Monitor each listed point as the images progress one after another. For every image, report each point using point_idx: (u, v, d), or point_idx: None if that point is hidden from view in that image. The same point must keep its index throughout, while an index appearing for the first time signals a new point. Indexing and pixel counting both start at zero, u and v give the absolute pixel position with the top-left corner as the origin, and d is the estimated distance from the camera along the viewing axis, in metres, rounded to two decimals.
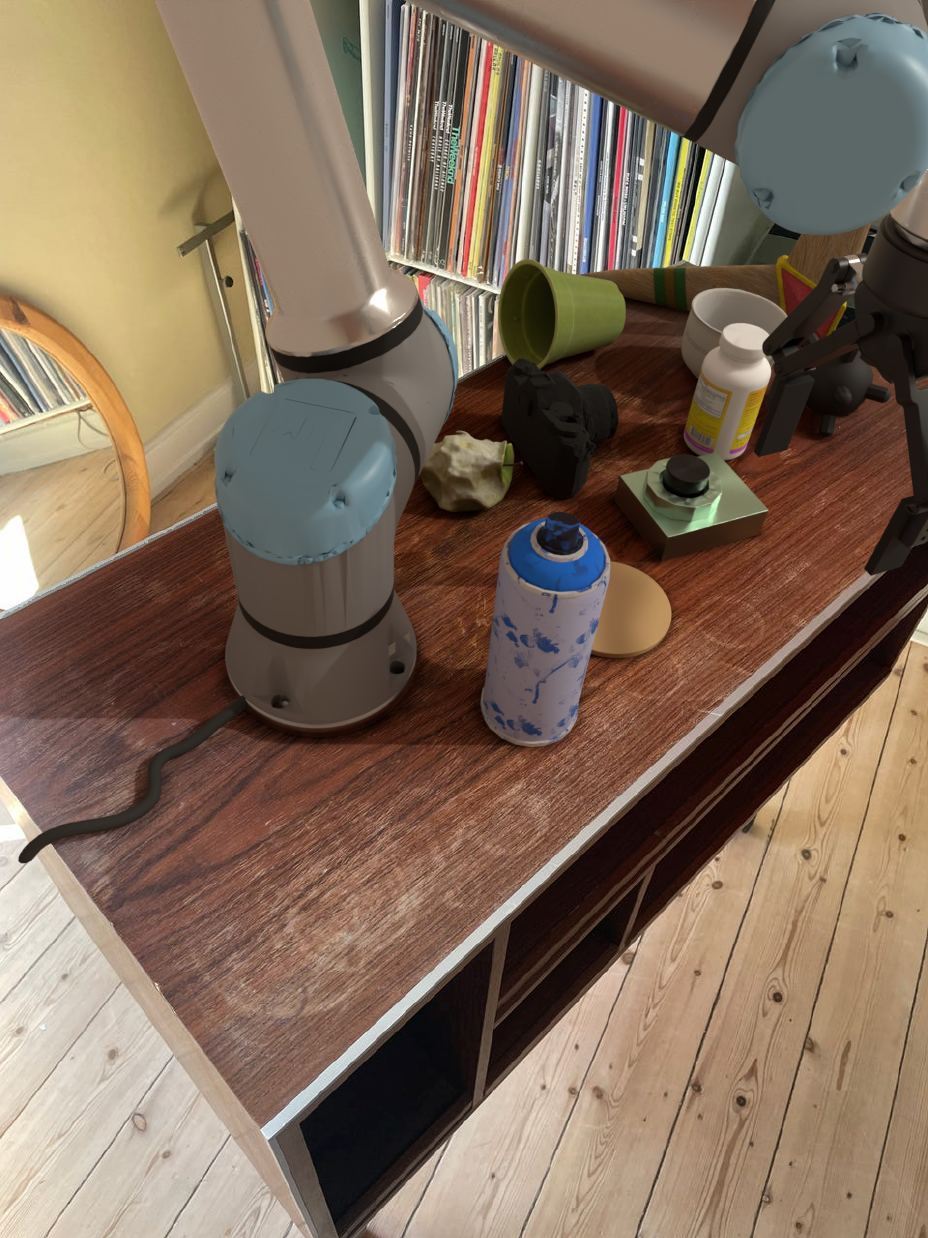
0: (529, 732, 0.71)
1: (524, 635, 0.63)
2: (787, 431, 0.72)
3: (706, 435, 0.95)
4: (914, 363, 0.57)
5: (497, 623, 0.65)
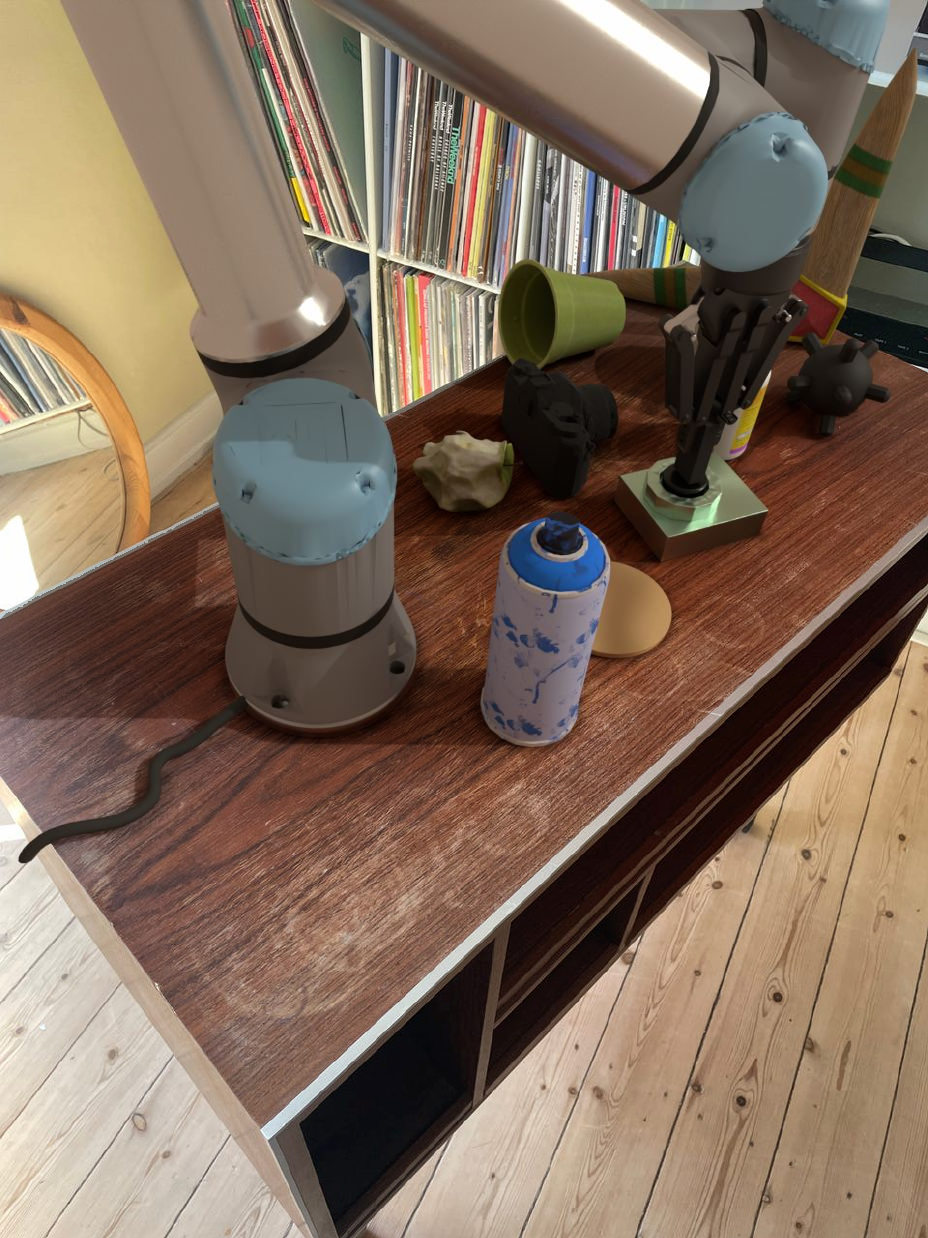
0: (529, 732, 0.71)
1: (524, 635, 0.63)
2: None
3: None
4: None
5: (497, 623, 0.65)
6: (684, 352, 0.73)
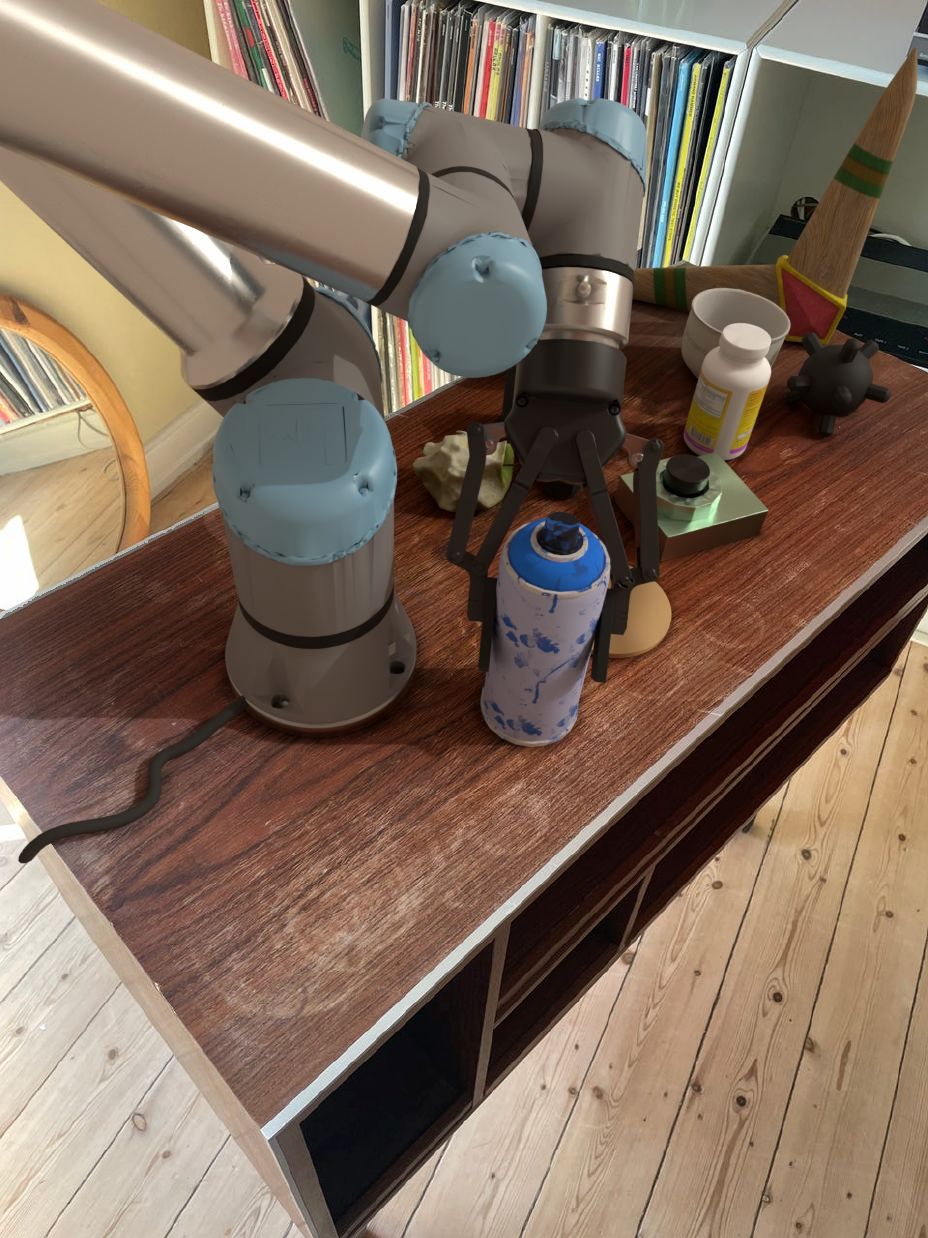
0: (529, 732, 0.71)
1: (524, 635, 0.63)
2: (596, 652, 0.65)
3: (706, 435, 0.95)
4: None
5: (497, 623, 0.65)
6: (474, 454, 0.64)
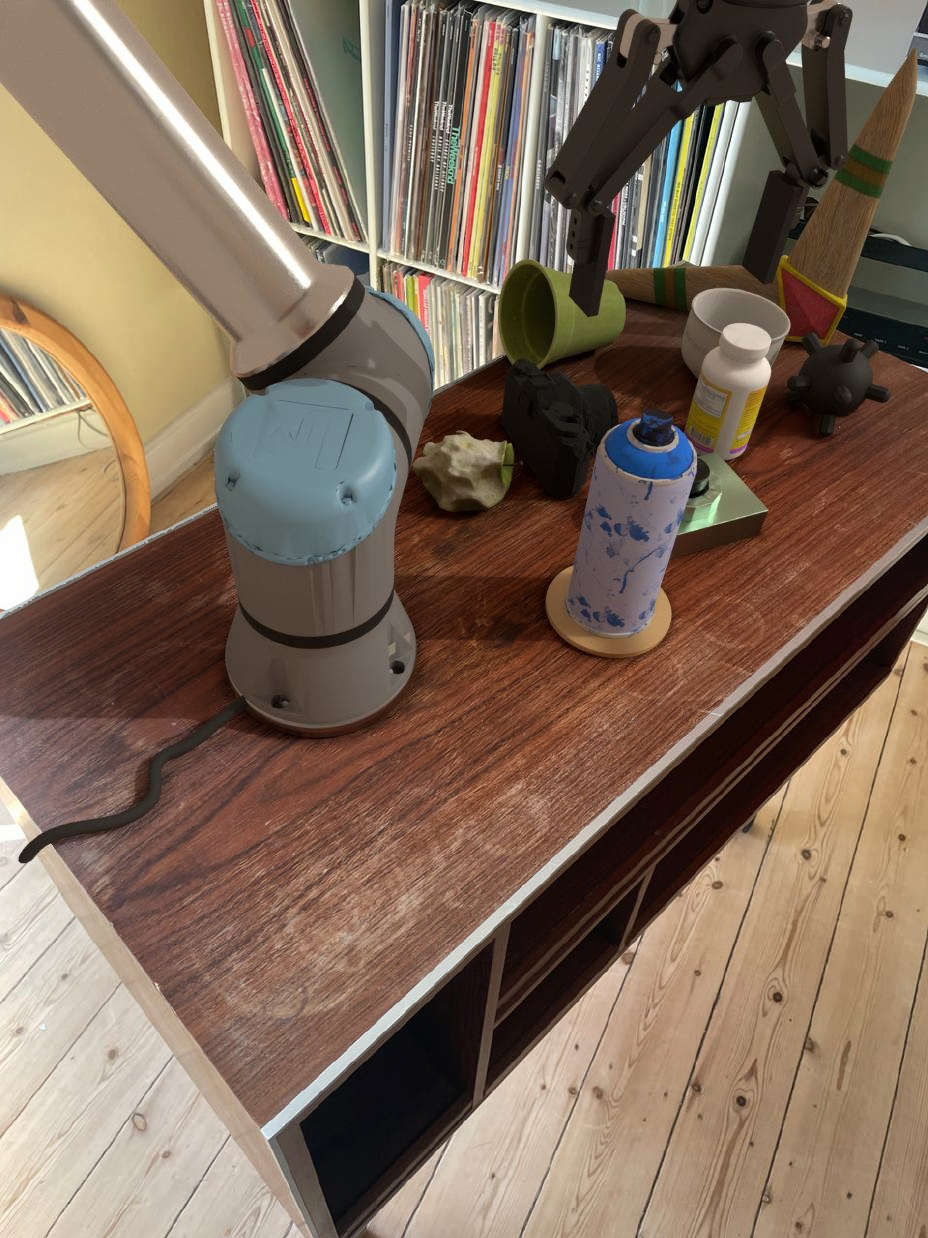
0: (613, 624, 0.78)
1: (618, 524, 0.70)
2: (766, 251, 0.63)
3: (706, 435, 0.95)
4: None
5: (591, 516, 0.72)
6: (637, 71, 0.49)
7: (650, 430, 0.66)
